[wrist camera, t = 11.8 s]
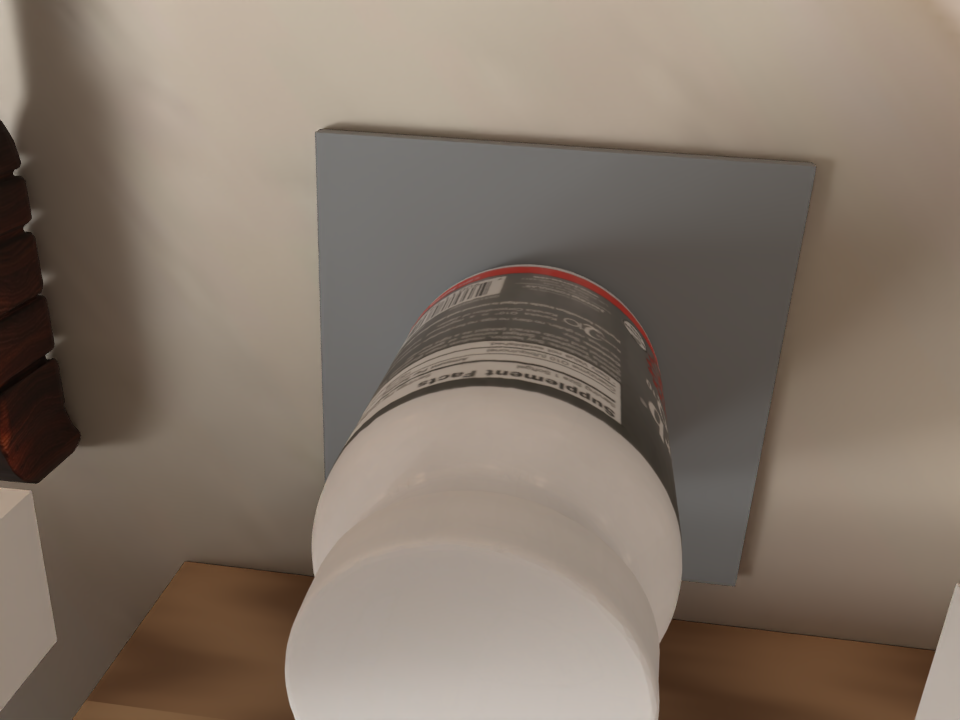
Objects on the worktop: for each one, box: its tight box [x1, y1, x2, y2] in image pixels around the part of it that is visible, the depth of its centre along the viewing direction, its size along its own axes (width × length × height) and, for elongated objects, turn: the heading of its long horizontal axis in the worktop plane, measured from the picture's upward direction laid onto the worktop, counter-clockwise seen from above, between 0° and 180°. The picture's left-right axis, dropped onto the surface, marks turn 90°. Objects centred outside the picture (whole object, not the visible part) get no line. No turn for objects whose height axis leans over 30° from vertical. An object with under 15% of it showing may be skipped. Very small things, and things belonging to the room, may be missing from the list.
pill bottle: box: [285, 264, 682, 720], centre depth 16 cm, size 6×6×10 cm
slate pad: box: [315, 129, 816, 586], centre depth 20 cm, size 10×10×1 cm
